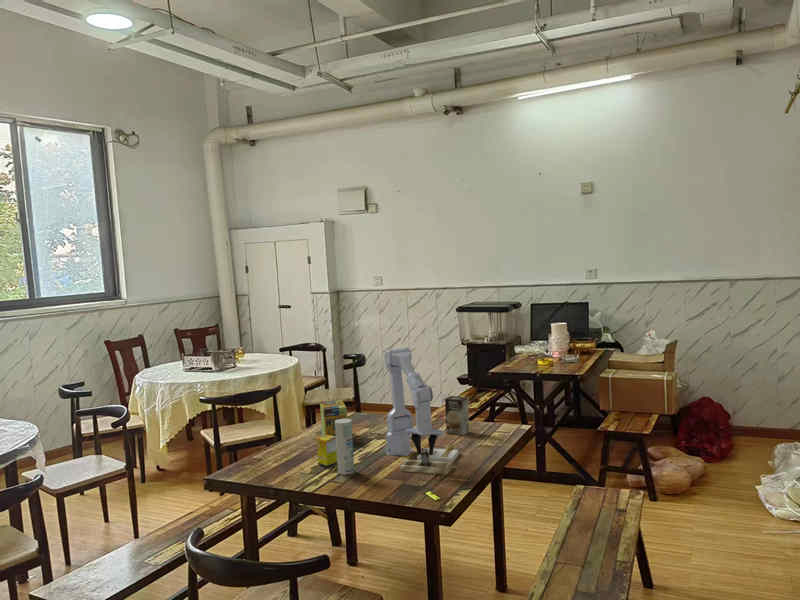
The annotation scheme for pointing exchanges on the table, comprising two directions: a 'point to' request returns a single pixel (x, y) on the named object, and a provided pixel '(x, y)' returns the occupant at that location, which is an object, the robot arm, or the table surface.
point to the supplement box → (327, 450)
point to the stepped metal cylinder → (425, 458)
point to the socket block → (439, 453)
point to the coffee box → (457, 415)
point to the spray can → (344, 446)
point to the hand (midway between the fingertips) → (425, 454)
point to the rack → (434, 467)
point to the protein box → (331, 415)
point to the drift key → (449, 449)
